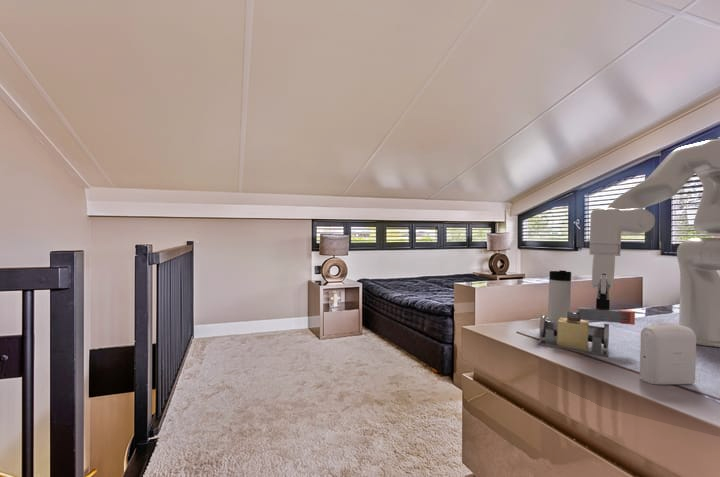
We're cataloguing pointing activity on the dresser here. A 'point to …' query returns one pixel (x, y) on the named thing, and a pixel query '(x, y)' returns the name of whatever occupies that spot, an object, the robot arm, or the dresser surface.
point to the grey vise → (574, 336)
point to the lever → (602, 315)
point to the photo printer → (668, 354)
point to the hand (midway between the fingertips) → (602, 312)
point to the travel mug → (559, 294)
